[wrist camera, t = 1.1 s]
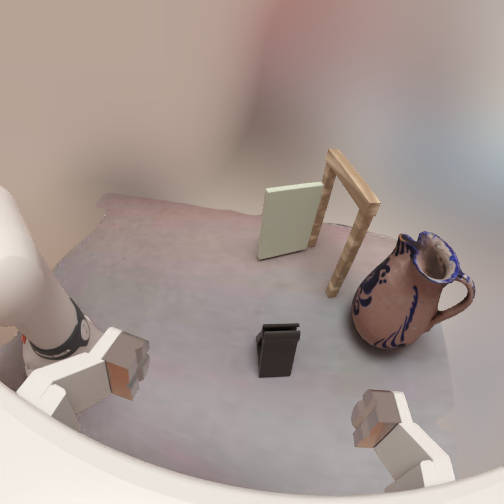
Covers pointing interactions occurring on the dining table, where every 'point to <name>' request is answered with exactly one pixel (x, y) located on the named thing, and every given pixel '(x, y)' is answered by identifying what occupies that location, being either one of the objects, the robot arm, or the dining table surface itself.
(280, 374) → the phone stand
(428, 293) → the ceramic pitcher
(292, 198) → the door
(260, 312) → the dining table surface
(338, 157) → the door frame
